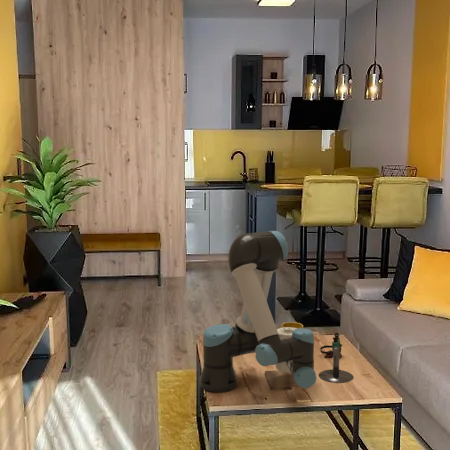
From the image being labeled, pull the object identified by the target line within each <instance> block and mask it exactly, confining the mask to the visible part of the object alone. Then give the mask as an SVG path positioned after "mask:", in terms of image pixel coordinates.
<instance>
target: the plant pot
mask: <svg viewBox="0 0 450 450" xmlns="http://www.w3.org/2000/svg"><path fill="white" fill-rule="evenodd" d="M285 327H291V328H297V329H299V328H304V325H303V324H302V323H300V322H296V321H289V322H288V321H287V322H283V323H281V327H280V328H285Z"/></svg>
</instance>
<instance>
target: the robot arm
mask: <svg viewBox="0 0 450 450" xmlns="http://www.w3.org/2000/svg"><path fill="white" fill-rule="evenodd" d="M288 255H289V246H288V242H287V240H286V238H285V236H284V235H283V233H281V232H280V231H278V230H267V231H260V232H259V231H258V232H257V231H256V232H249V233H248V232H247V233H241V234H240V235H238V236H237V237H236V238H235V239H234V240H233V241H232V243H231V245H230V248H229V250H228V259H227V261H228V267H229V270H230V273H231V275H232V276H233V277H235V279H236V282H237V285H238V288H239V290H240V293H241V297H242V299H243V303H242V304H243V305H242V311H241V315H240V316H238V317H237V318H236V321H235V325H234V326H231V325H229V324H227V323H223V324H221V323H219V324H215V325H214V324H213V325H211V326H209V327H207V328H206V329H205V330H204V332H203V334H202V335H203V337H202V346H203V347H202V351H203V352H202V353H203V354H202V355H203V356H202V357H203V359H202V360H203V367H202V371H201V374H200V376H199V387H200V388H201V389H202V390H204V391H207V392H211V393H225V392H230V391H232V390H234V389H236V388H237V386H238V376H237V374H236V370H235V367H234V365H233V364H234V362H233V361H234V359H233V358H236V357H240V356H244V355H249V354H255V355H254V356H255V360H256V362H257V363H258V364H259V365H260V366H262V367H268V366H276V364H278V363H282V362H286V364H287V366H288V368H289V370H290V372H291V373H292V376H293V378H294V381H295V382H296V383H297V384H298V385H299V386H298V387H300V388H303V389H309V388H312V387H313V386H314V385H315V384H316V382H317V374H316V371H315V359H314V354H315V352H314V351H315V335H314V331H312V330H311V329H309V328H304V327H303V328H299V329H295V330H294V331H293V332H292V337H291V338H287V339H282V340H281V339H280V337H279V334H278V331H277V329H278V328H277V326H276V323H275V321H274V318H273V315H272V312H271V309H270V306H269V304H268V296H269V291H270V287H271V281H272V277H273V273H275V272H276V271H277V270H278V269H279V265H280V262H283V261H285V260H287V257H288Z"/></svg>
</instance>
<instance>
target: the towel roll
mask: <svg viewBox="0 0 450 450" xmlns="http://www.w3.org/2000/svg"><path fill="white" fill-rule="evenodd" d="M276 329H277V331H278V334H279V337H280V339H281V340H282V339H287V338H291V337H292V332H293V331H294V330H295V329H297V328H291V327H285V328H281V327H280V328H276ZM275 368H276V370H280V371H283V372H290V370H289V368H288V366H287V364H286V362H282V363H278V364H276V365H275Z"/></svg>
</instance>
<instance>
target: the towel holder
mask: <svg viewBox="0 0 450 450" xmlns="http://www.w3.org/2000/svg"><path fill="white" fill-rule="evenodd" d="M332 357H333V358H332V360H333V361H332V369H326V370H322V371H320V372H319V373H318V378H319V379H321V380H322V381H324V382H327V383H333V384H344V383H350V382H351V381H352V380H354V375H353V374H352V373H351V372H349V371H347V370H343V369H340V359H339V347H333V356H332Z"/></svg>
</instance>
